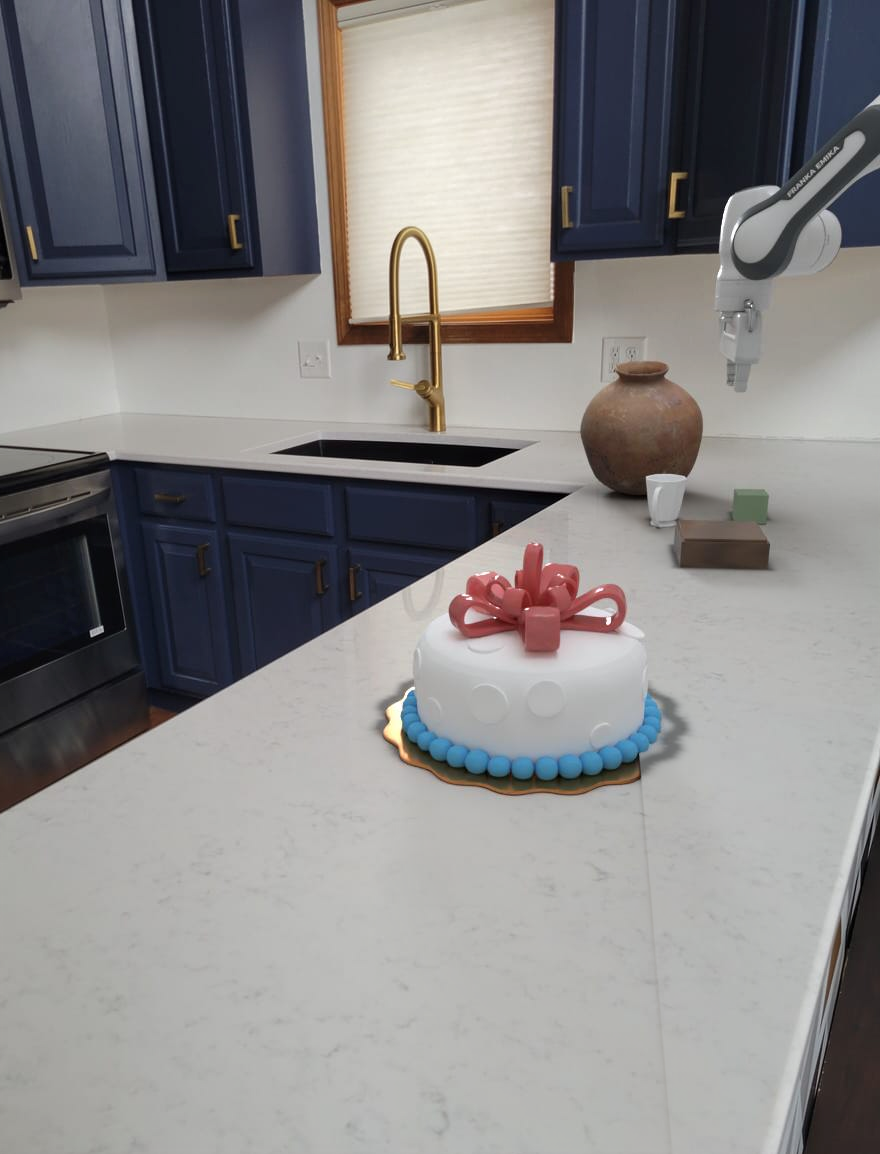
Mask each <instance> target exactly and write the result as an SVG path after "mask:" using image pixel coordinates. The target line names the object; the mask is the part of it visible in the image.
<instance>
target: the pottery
mask: <svg viewBox="0 0 880 1154" xmlns="http://www.w3.org/2000/svg"><path fill="white" fill-rule="evenodd" d="M614 367H615V368H614V371H615V373H616V374H617V375H618V378H617V379H616V380H614V381H612V382H610V383H609V384H607V385H606V386H604V387H602V388H601V390H600V391H598V392H597V393H596V394H595V396H593V398H592V399H591V400H590V402H588V405H587V406H586V408H585V410H584V413H583V416H582V417H581V422H580V428H579V429H580V430H579V434H580V439H581V443H582V447H583V449H584V453H585V457H586V458H587V462H588V465H589V466H590V469H591V471H592V474H593V475H594V477H595V478H596V479H597V480H598V481H599V482H600V483H601V484H602V485H603V486H605V487H607V488H608V489H610V490H612V491H614V492H617V493H620V494H625V495H630V496H631V495H632V496H647V485H646V476H650V475H655V474H675V475H681V476H685V477H686V479H688V476H689V475H690V474H691V473H692V470H693V469H694V467H695V464H696V462H697V458H698V455H699V452H700V447H701V444H702V443H701V442H702V440H703V432H704V419H703V413H702V410H701V407H700V406H699V404H698V402H697V401H696V400H695V398H694V397H693V396H692V395H691V394H690V393H689V392H688V391H687V390H686V389H684V388H683V387H681V385H679V384H677V383H675V382H673V381H671V380H669V379H667V378H666V377H665V376H666V374H667V373H668V372H669V369H670V366H669V365H668V364H666V363H664V362H662V361H659V360H658V361H657V360H655V361H653V360H642V361H640V360H634V361H627V362H621V363H619V364H617V365H615V366H614Z"/></svg>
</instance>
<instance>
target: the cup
mask: <svg viewBox="0 0 880 1154" xmlns="http://www.w3.org/2000/svg"><path fill="white" fill-rule="evenodd" d="M687 482H688V478H686V477H685V476H681V475H675V474H655V475H650V476H646V485H647V495H646V496H647V505H648V510H649V516H650V518H651V520H650V526H652V527H655V528H658V529H659V528H671V527H675V522H676V520H677V519H678V517H679V515H680V511H681V508H682V504H683V499H684V496H685V492H686V486H687Z"/></svg>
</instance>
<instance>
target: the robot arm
mask: <svg viewBox="0 0 880 1154" xmlns="http://www.w3.org/2000/svg"><path fill="white" fill-rule="evenodd" d="M878 169H880V94H879V95H878V96H877V97H875V99H873V101H871V102H870V103H869V104H868V105H867V106H866V107H865V108H864V109H862V110H861V111H860V112H859V113H858V114H857V115H856V116H854V117H853V118H852V119H851V120H849V122H848V123H846V124H845V125H844V126H843V127H842V128H840V129H839V131H838V132H836V134H834V136H832V137H831V138H830V139H829V140H828V141H827V142H826V143H825V144H824V145H823V146H822V147H821V148H820V149H819V150H818V151H817V152H816V153H814V155H813V156H812V157H811V158H810V159H809V160H808V161H807V162H806V163H805V164H804V165H803V166H802V167H801V168H800V169H799V170H798V171H797V172H796V173H795V174H793V176H791V177H790V179H788V181H786V183H785V184H784V185H782V186H781V187H779V186H777V185H774V184H761V185H757V186H751V187H747V188H743V189H741V190H739V191H736V192H734V194H732V195H731V196H730V197H729V199H728V200H727V203H726V205H725V208H724V211H723V215H722V220H721V226H720V235H719V245H718V246H719V247H718V255H719V260H720V262H719V263H720V264H719V270H718V273H717V276H716V281H715V295H714V306H713V308H714V309H713V311H714V312H719V318H718V321H719V322H718V345H719V353H720V356H723V358H725V371H726V376H725V385H726V386H728V387H733V391H734V392H735V393H746V392H747V389H748V382H749V377H750V374H751V368H752V365H758V364H759V361H760V359H761V354H762V353H761V352H762V341H763V321H764V314H765V313H764V312H766V311H772V310H773V307H774V299H775V297H774V296H775V287H776V279H777V278H789V277H790V278H791V277H798V276H799V277H801V276H810V275H814V274H816V273H819V272H822V271H823V270H825V269H827V268H828V267H829V266H830V265H831V264H832V263H833V262H834V261H835V259H836V257H837V256H838V254H839V252H840V249H841V246H842V240H843V230H842V225H841V222H840V220H839V218H838V217H837V215H836V214H835V213H834V212H833V211H831V210H828V209H827V208H828V207H830V205H832V204H833V203H834V202H835V201H836V200H837V199H838V198H839V197H840V196H841V195H843V193H844V192H845V191H846V190H847V189H849V188H850V187H851V186H852V185H853V184H854V183H856V182H857V181H858V180H860V179H861V178H862V177H864V176H866V175H867V174H870V173H872V172H874V171H875V170H878Z"/></svg>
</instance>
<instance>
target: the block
mask: <svg viewBox="0 0 880 1154" xmlns="http://www.w3.org/2000/svg"><path fill="white" fill-rule="evenodd" d="M769 498H770V495H769V493H768V492H767V490H765V489H763V488H760V489H759V488H734V490H733V498H732V510H731V519H732V521H755V522H756V523H757V524H758V525H767V518H768V509H769Z"/></svg>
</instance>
